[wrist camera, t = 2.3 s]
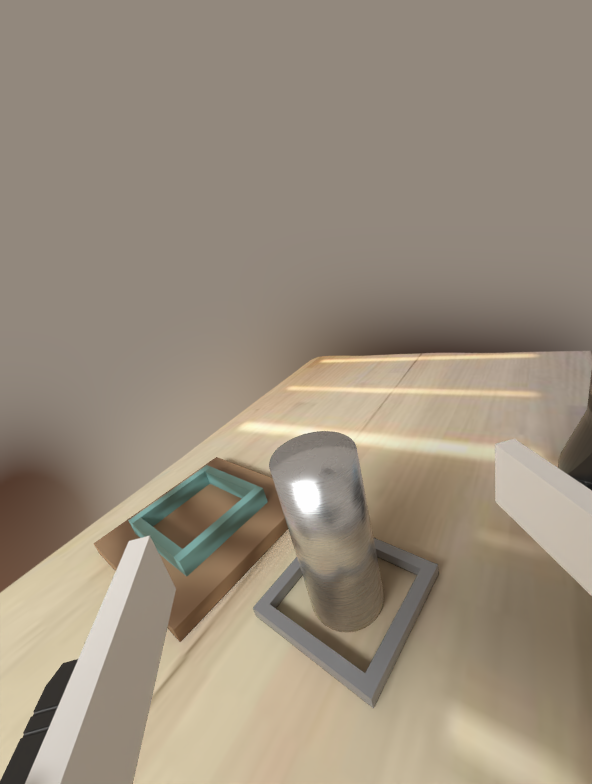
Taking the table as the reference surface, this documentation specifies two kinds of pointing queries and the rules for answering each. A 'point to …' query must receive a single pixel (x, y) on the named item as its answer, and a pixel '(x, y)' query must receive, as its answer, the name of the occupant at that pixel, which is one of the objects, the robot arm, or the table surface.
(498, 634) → the table surface
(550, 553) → the robot arm
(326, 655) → the frame
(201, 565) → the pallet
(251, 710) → the table surface
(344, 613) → the billet
